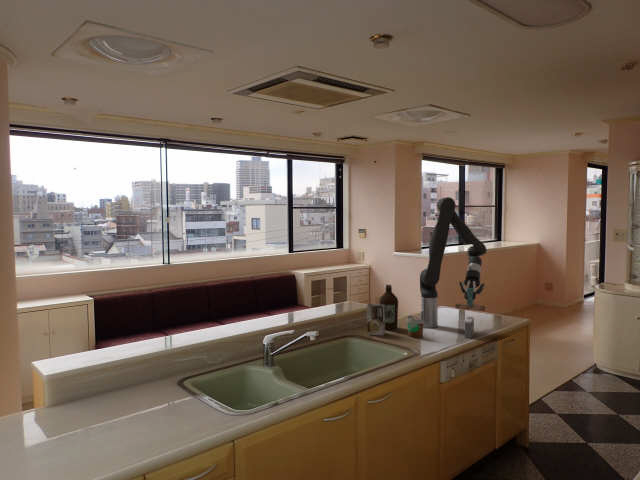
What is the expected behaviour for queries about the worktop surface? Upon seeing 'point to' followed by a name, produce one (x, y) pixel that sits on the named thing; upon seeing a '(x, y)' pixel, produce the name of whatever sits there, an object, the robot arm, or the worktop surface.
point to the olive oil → (390, 308)
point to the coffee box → (375, 319)
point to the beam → (470, 302)
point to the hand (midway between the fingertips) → (469, 298)
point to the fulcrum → (469, 327)
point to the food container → (415, 327)
